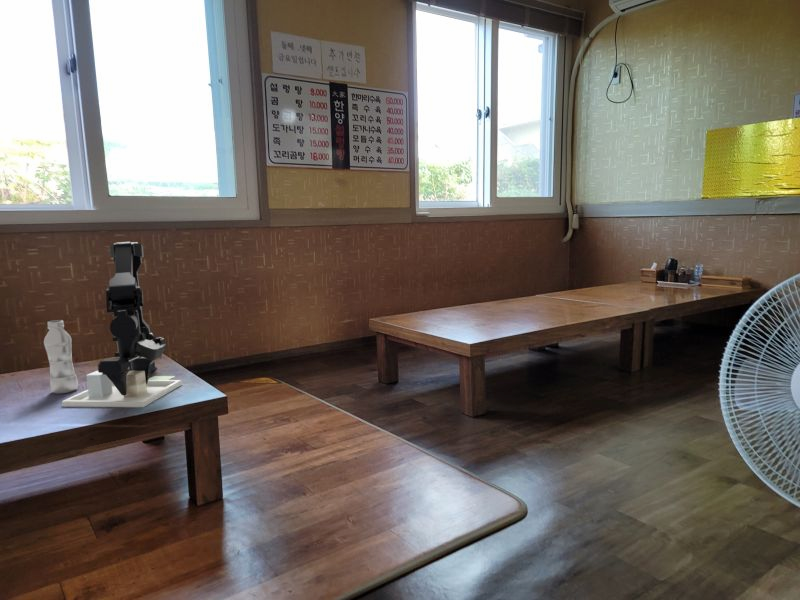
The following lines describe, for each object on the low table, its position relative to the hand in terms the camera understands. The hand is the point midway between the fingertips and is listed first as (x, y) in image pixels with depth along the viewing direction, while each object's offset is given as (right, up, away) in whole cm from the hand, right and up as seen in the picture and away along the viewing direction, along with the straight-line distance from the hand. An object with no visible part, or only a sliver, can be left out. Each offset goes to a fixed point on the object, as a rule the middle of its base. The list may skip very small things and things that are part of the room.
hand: (135, 389), depth 145 cm
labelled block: (0, -2, 0) cm, 2 cm away
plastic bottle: (-22, -2, +6) cm, 23 cm away
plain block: (-10, -2, +2) cm, 10 cm away
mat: (0, 0, +14) cm, 14 cm away
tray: (-3, -2, +1) cm, 4 cm away
